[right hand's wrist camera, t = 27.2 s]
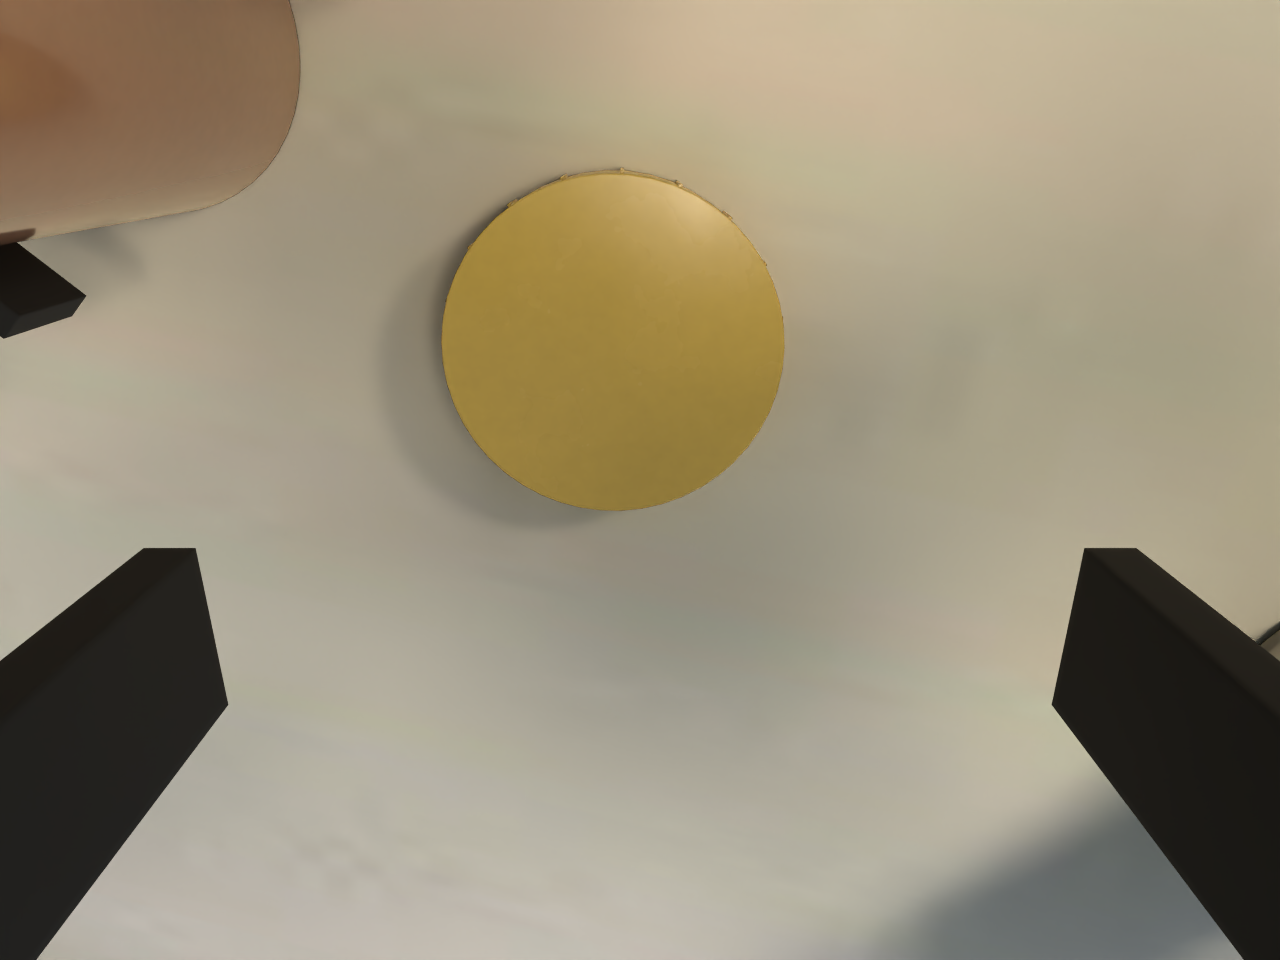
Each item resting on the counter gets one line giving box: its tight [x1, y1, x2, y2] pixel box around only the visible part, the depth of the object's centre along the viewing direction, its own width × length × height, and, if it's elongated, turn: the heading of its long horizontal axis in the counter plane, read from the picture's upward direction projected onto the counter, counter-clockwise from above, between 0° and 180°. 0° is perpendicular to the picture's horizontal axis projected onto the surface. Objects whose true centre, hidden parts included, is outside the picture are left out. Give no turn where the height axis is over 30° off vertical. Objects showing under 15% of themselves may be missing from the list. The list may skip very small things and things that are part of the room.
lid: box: [441, 168, 784, 511], centre depth 27 cm, size 11×11×2 cm
